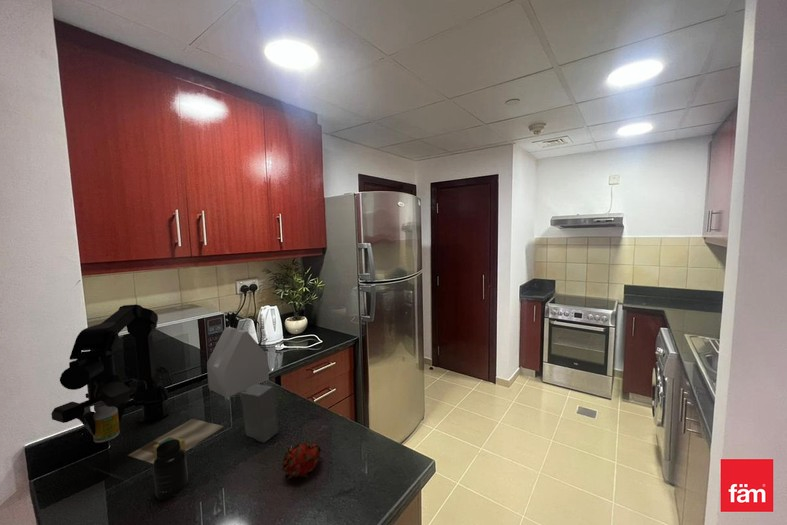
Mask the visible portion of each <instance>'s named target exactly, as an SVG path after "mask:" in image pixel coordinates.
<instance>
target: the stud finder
mask: <svg viewBox="0 0 787 525" xmlns="http://www.w3.org/2000/svg"><path fill="white" fill-rule="evenodd" d="M173 439H177V440H179V441H180V446H181V449H183V450H185V440H184V439H180V438H177V437H173V436H170V437H168V438H166V439H165V440H163V441H161V442H159V443H158V444H156V445H154V446H153V448H154V456H156V457H157V452H156V449H157V447H158V446H159V445H161V444H162V443H164V442H166V441H169V440H173Z"/></svg>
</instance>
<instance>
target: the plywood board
mask: <svg viewBox="0 0 787 525" xmlns="http://www.w3.org/2000/svg"><path fill="white" fill-rule="evenodd" d="M222 428H224V425H220V424H217V423H216V424H215V423H212V422H207V421H204V420H198V419H195V418H191V419H189V420H187V421H186V422H184V423H182V424H181V425H179V426H177V427H175V428H174V429H172V430H170V431H168V432H167V433H164V434H162V435H161V436H159V437H157V438H156V439H154V440H152V441H150V442H149V443H147V444H145V445H143V446H141V447H140V448H138V449H137V450H134V451H132V452H131V453H129V454H127V456H128V457H131V458H134V459H137V460H141V461H143V462H147V463H149V464H152V465H153V463H154V461H155V459H156V458H157V457H156V456H154V448H153V446H154V445H156V444H158V443H159V442H161V441H163V440H165V439H166V438H168V437H170V436H173V437H177V438H180V439H184V440H185V450H184V451H185V452H188V451H189V450H190V449H192V448H193V447H195V446H196V445H197V444H199V443H201V442H202V441H204V440H205V439H207V438H209V437H210V436H211V435H213V434H214V433H216V432H218V431H219V430H221V429H222Z"/></svg>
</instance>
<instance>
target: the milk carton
mask: <svg viewBox="0 0 787 525" xmlns="http://www.w3.org/2000/svg"><path fill="white" fill-rule="evenodd" d="M223 329H224V330H223V331H222V333H221V335H220V337H219V339H218V341H217V343H216V345H215V346H214V348H213V351H212V352H211V354H210V357H209V358H208V360H207V362H206V369H207V387H208V389H209V390H211V391H213V392H215V393H216V394H218V395H220V396H222V397H223V398H226V399H227V398H229V397H232V396H234V395H237V394H240V393H241V392H242V391H244V390H246V389H248V388H249V387H251V386H253V385H255V384H260V383H261V384H263V383H265V382H264V381H266V382H268V381H270V377H269V375H270V374H269V360H268V356H269V355H267V353H266V352H265V351H264V350H263V349H262V347H261V346H260V345H259V344H258V342H256V339H254V337H252V335H251V334H250V333H249V331H247V330H242V329H237V328H235V327H231V326H227V327H224V328H223ZM262 382H263V383H262ZM261 384H260V385H261Z"/></svg>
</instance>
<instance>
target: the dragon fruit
mask: <svg viewBox="0 0 787 525" xmlns="http://www.w3.org/2000/svg"><path fill="white" fill-rule="evenodd" d="M321 450H322V449H321V447H320V446H319V444H318V443H312V444H310V443H309V442H307V441H305V442H304V443H302V444H300V443H298V444H295V446H294V447H288V448H287V451H286V452H285V453H284V456H283V459H282V463H281V464H282V467H283V468H282V469H281V470H282V472H284V473H285V479H290V478H295V479H297V478H298V477H302V478H305V479H307V478H308V477H309V476H308V475H309V473H310V472H312V471H314V470H315V467H317V464H318V462H319V460H320V459H321V457H320V455H321ZM287 473H288V474H287Z"/></svg>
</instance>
